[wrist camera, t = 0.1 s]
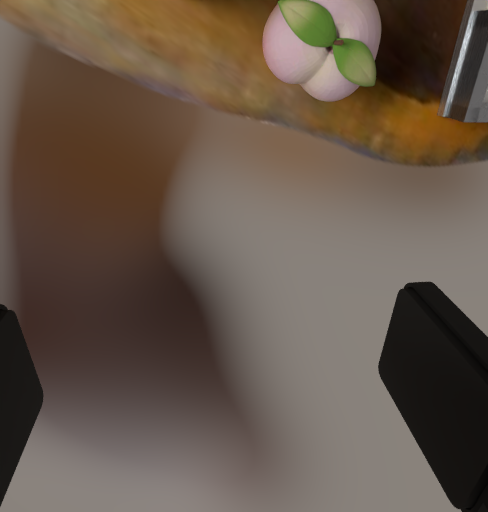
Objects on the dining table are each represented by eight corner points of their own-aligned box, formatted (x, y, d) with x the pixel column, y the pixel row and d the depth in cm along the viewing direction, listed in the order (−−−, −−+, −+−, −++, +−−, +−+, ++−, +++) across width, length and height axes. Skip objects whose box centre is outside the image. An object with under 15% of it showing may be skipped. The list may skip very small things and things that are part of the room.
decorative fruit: (372, 15, 34) (433, 7, 25) (326, 104, 37) (366, 124, 28) (281, -42, 31) (316, -74, 22) (240, 60, 34) (256, 66, 26)
